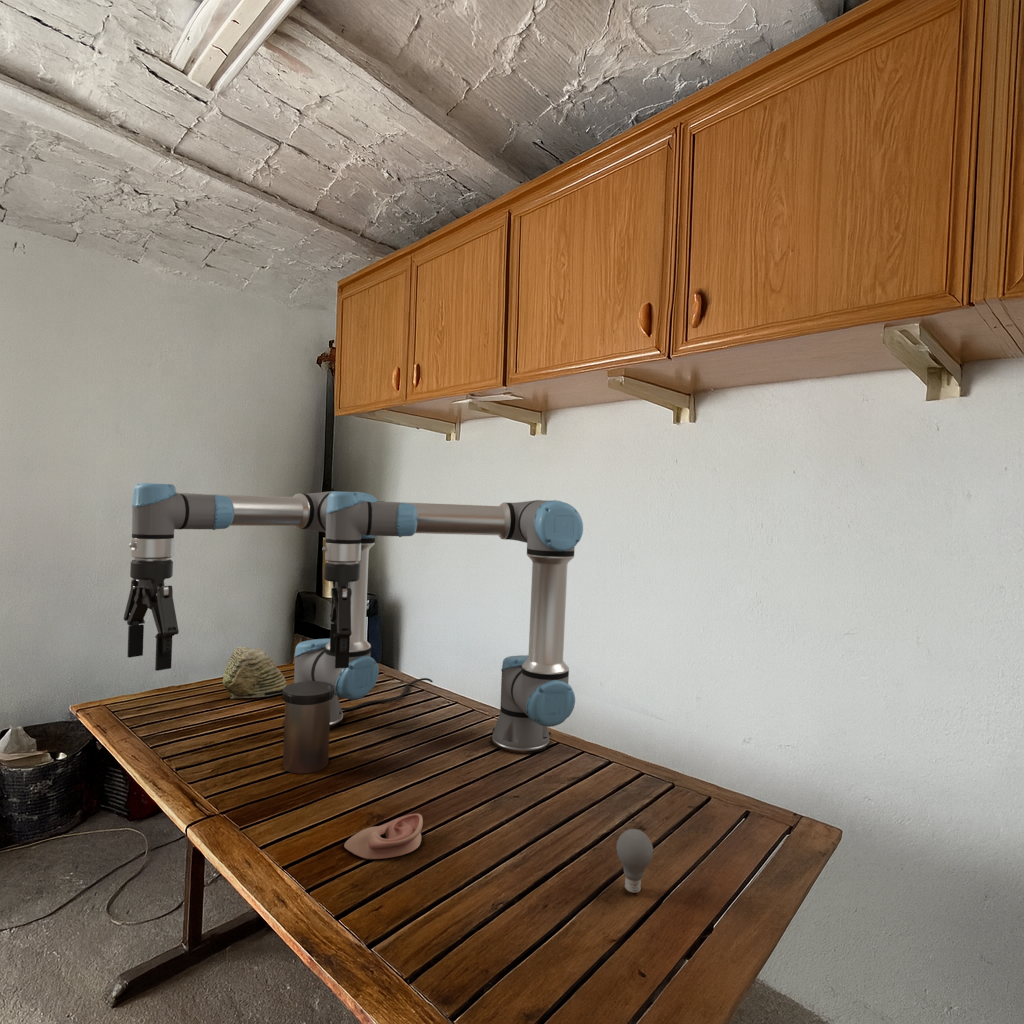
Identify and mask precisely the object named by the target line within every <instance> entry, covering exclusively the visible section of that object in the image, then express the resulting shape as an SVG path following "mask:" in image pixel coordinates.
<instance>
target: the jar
mask: <svg viewBox="0 0 1024 1024" xmlns="http://www.w3.org/2000/svg"><path fill="white" fill-rule="evenodd" d="M330 705H331V700H329V701H326V702H323V703H319V704H312V705H296V704H290V703H287V702H285V701H284V719H283V720H284V722H283V724H284V725H283V746H282V747H283V748H282V750H283V751H282V752H283V753H282V769H283V770H284V771H286V772H287V773H291V774H297V775H298V774H301V775H302V774H311V773H316V772H319V771H321V770H323V769H325V768H326V767H327V766H328V765H329V757H330V756H329V753H330V730H331V729H330Z"/></svg>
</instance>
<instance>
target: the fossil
mask: <svg viewBox="0 0 1024 1024" xmlns="http://www.w3.org/2000/svg"><path fill="white" fill-rule="evenodd" d="M222 676H223V677H222V685H223V687H224V688H225V690H226V691H228V693H229V698H230V699H250V698H264V697H271V696H275V695H281V694H282V691H283V688H284V687H285V686H287V685H288V684H287V680H286V678H285V676H284V674H283V673H282V672H281V669H279V668H278V667H277V665H276V663H275V662H274V660H273V659H272V658H271V657H270V656H269V655H268V654H267V653H266V652H265V650H264V649H263V648H260V647H258V648H251V647H247V646H246V647H245V646H238V647H237V648H236V649H235V650H233V651H232V653H231V656H230V657H229V659H228V660H227V663H226V666H225V668H224V671H223V675H222Z"/></svg>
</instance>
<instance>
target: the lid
mask: <svg viewBox="0 0 1024 1024" xmlns="http://www.w3.org/2000/svg"><path fill="white" fill-rule="evenodd" d="M286 685H287V686H285V687H284V688H283V691H282V693H281V699H282V701H283V702H284V703H285V702H287V703H290V704H296V705H312V704H319V703H323V702H326V701H329V700H331V699H332V698H333V697H334V686H333V685H332V684H330V683H326V682H320V681H305V682H297V683H294V682H293V683H290V684H286Z"/></svg>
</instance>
